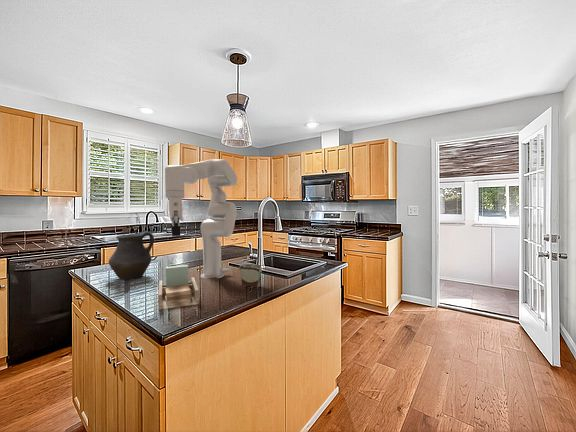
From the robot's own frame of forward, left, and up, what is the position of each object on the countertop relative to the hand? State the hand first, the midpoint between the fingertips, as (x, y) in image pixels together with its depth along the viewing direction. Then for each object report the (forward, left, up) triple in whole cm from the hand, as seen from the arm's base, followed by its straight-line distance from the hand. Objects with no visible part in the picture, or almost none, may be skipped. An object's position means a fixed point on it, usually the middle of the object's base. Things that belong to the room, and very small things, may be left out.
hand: (175, 234), depth 121 cm
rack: (0, +6, -28) cm, 28 cm away
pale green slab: (0, 0, -26) cm, 26 cm away
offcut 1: (0, +9, -23) cm, 25 cm away
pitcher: (+21, -43, -28) cm, 55 cm away
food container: (-35, -3, -28) cm, 45 cm away
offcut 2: (0, +9, -24) cm, 26 cm away
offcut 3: (0, +9, -26) cm, 27 cm away
